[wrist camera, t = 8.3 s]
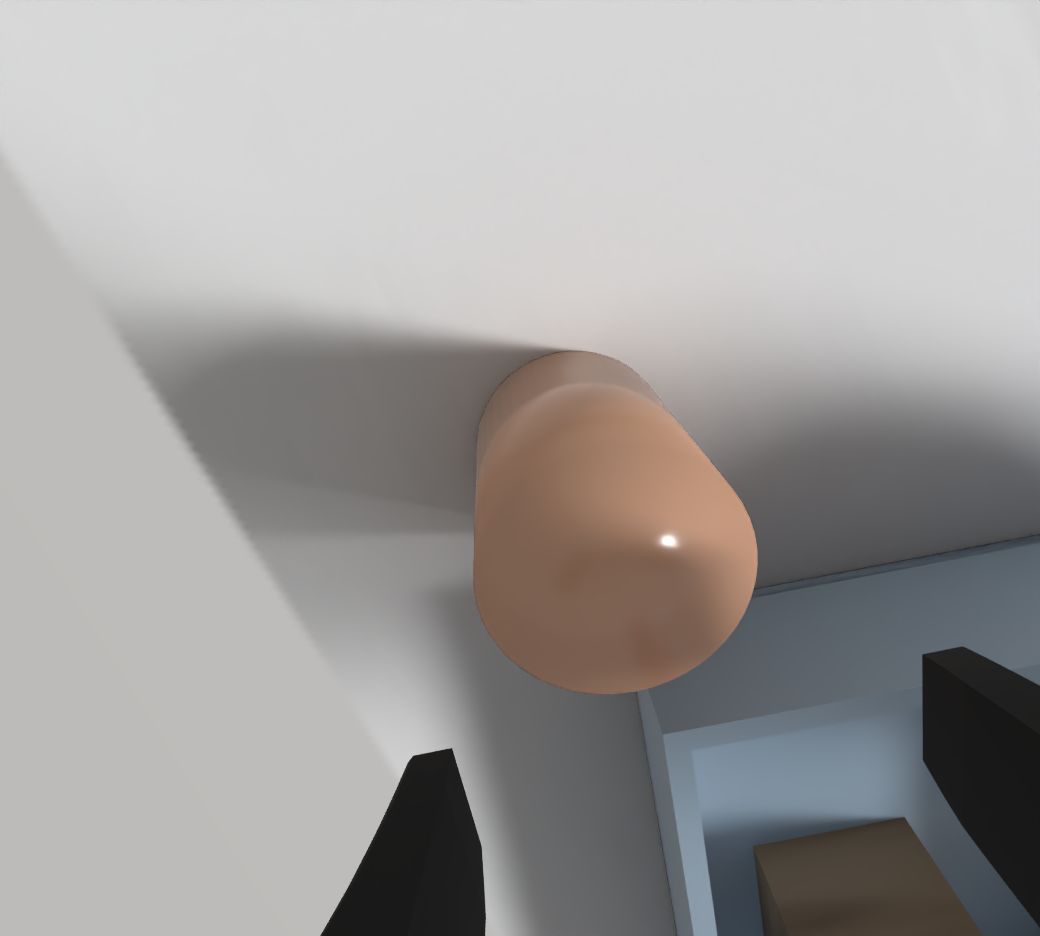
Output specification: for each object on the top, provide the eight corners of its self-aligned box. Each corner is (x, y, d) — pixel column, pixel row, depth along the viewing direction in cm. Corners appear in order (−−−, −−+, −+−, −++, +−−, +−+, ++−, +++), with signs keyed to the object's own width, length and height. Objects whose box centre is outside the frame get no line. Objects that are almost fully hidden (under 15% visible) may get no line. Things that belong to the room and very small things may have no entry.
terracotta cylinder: (653, 332, 19) (745, 414, 12) (676, 511, 20) (767, 666, 14) (458, 372, 19) (443, 474, 12) (498, 546, 21) (505, 716, 14)
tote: (1081, 526, 21) (1252, 624, 16) (1043, 941, 27) (1159, 1097, 23) (623, 614, 21) (662, 734, 17) (688, 1004, 28) (730, 1171, 23)
